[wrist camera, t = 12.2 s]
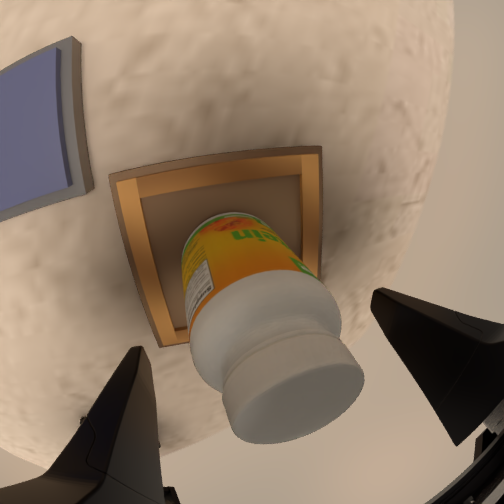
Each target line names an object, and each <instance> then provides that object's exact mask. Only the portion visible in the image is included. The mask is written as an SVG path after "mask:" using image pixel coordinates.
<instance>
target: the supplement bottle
mask: <svg viewBox="0 0 504 504" xmlns="http://www.w3.org/2000/svg"><path fill="white" fill-rule="evenodd" d="M181 262H182V264H181V268H182V281H183V292H184V301H185V310H186V318H187V326H188V334H189V342H190V349H191V354H192V358H193V362H194V365H195V367H196V369H197V371H198V373H199V374H200V376H201V377H202V378H203V380H204V381H205V382H206V383H207V384H208V385H210V386H211V387H212V388H214V389H216V390H217V391H219V392H221V393H223V395H222V400H223V404H224V406H225V409H226V413H227V416H228V419H229V422H230V425H231V428H232V430H233V432H234V433H235V435H236V436H237V437H238V438H240V439H242V440H244V441H246V442H249V443H254V444H275V443H282V442H287V441H291V440H294V439H297V438H300V437H303V436H306V435H308V434H311V433H313V432H315V431H317V430H319V429H321V428H322V427H324V426H326V425H327V424H329V423H330V422H332V421H333V420H335V419H336V418H338V417H339V416H340V415H341V414H342V413H344V412H345V411H346V410H347V409H348V408H349V407H350V405H352V404H353V402H354V401H355V400H356V398H357V397H358V396H359V394H360V392H361V390H362V387H363V385H364V373H363V370H362V369H361V367H360V365H359V364H358V363H357V361H356V360H355V358H354V357H353V356H352V354H351V353H350V351H349V350H348V348H347V347H346V346H345V344H343V343H342V341H341V340H340V339H339V337H340V333H341V314H340V310H339V307H338V305H337V303H336V301H335V299H334V297H333V296H332V295H331V293H330V292H329V291H328V290H327V288H326V287H325V286H324V285H323V284H322V283H321V281H320V280H319V279H318V278H317V277H316V276H315V275H314V274H313V273H312V272H311V271H310V270H309V269H308V268H307V266H306V265H305V264H304V263H303V262H302V261H301V260H300V259H299V258H298V257H297V256H296V255H295V254H294V252H293V251H292V250H291V249H290V248H289V247H288V246H287V245H286V244H285V243H284V241H283V240H282V239H281V238H280V237H279V236H278V235H277V234H276V233H275V232H274V231H273V230H272V229H271V228H270V227H269V226H268V225H267V224H266V223H265V222H263V221H262V220H260V219H259V218H257V217H255V216H253V215H250V214H246V213H239V212H229V213H223V214H219V215H216V216H214V217H211V218H209V219H207V220H206V221H204V222H203V223H202V224H200V225H199V226H198V227H197V228H196V229H195V230H194V231H193V233H192V234H191V235H190V237H189V238H188V240H187V242H186V244H185V246H184V249H183V253H182V261H181Z"/></svg>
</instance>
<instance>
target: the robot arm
mask: <svg viewBox="0 0 504 504" xmlns="http://www.w3.org/2000/svg"><path fill="white" fill-rule="evenodd" d="M370 308H371V312H372V313H373V315H374V317H375V319H376V320H377V322H378V324H379V326H380V327H381V329H382V330H383V333H384V334H385V336H386V338H387V339H388V341H389V342H390V344H391V345H392V347H393V348H394V350H395V351H396V352H397V354H398V355H399V357H400V358H401V360H402V361H403V363H404V364H405V366H406V367H407V369H408V370H409V372H410V373H411V374H412V376H413V378H414V379H415V381H416V382H417V384H418V385H419V387H420V388H421V390H422V391H423V393H424V394H425V396H426V398H427V399H428V401H429V402H430V404H431V406H432V407H433V409H434V411H435V412H436V414H437V416H438V417H439V419H440V421H441V422H442V424H443V426H444V427H445V429H446V431H447V432H448V434H449V436H450V438H451V439H452V441H453V443H454V444H455V446H458V445H459V444H460V443H462V441H464V440H465V439H466V438H467V437H468V436H469V435H470V434H471V433H472V432H473V431H474V430H475V429H476V428H477V427H478V426H479V425H480V424H481V423H482V422H483V423H484V425H485V426H486V427H487V428H486V429H485V430H484V431H483V432H482V433H481V434H480V435H479V436H478V437H477V438H476V442H475V453H474V461H473V463H472V464H471V465H470V466H469V467H468V468H467V469H466V470H465V471H464V472H463V473H462V474H461V475H460V476H458V477H457V478H456V479H455V480H454V481H453V482H452V483H450V484H449V485H448V486H447V487H446V488H444V489H443V490H442V491H441V492H440V493H438V494H437V495H436V496H434V497H433V498H432V499H430V500H429V501H428V502H426V503H425V504H504V324H500V323H496V322H492V321H488V320H484V319H480V318H476V317H473V316H469V315H466V314H463V313H460V312H457V311H453V310H450V309H448V308H445V307H442V306H438V305H435V304H432V303H429V302H426V301H423V300H420V299H417V298H414V297H411V296H408V295H405V294H402V293H399V292H396V291H393V290H390V289H387V288H383V287H382V288H378V289H375V290H374V292H373V295H372V300H371V305H370ZM80 424H81V425H80V427H79V428H78V430H77V431H76V433H75V435H74V436H73V437H72V439H71V440H70V442H69V443H68V444H67V446H66V447H65V448H64V450H63V451H62V452H61V454H60V455H59V456H58V458H57V459H56V460H55V462H54V463H53V464H52V466H51V467H50V468H49V469H48V470H47V471H46V472H45V473H44V474H43V475H41V476H39V477H37V478H34V479H31V480H28V481H25V482H22V483H18V484H15V485H11V486H7V487H4V488H0V504H180V501H179V499H178V497H177V494H176V491H175V488H174V487H169V486H168V487H163V484H162V476H161V467H160V456H159V448H160V447H161V446H160V442H159V441H158V429H157V408H156V398H155V391H154V384H153V377H152V369H151V364H150V361H149V359H148V356H147V354H146V352H145V350H144V348H143V347H142V346H135V347H131V348H130V349H129V351H128V352H127V354H126V355H125V357H124V358H123V360H122V361H121V363H120V364H119V366H118V367H117V369H116V370H115V372H114V373H113V375H112V376H111V378H110V379H109V381H108V382H107V384H106V386H105V387H104V389H103V390H102V392H101V393H100V395H99V396H98V398H97V400H96V401H95V403H94V404H93V406H92V408H91V409H90V411H89V412H88V414H87V417H85V418H82V419H80Z"/></svg>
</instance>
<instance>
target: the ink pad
mask: <svg viewBox="0 0 504 504" xmlns="http://www.w3.org/2000/svg"><path fill="white" fill-rule="evenodd" d="M93 189H94V184H93V179H92V174H91V168H90V162H89V156H88V149H87V142H86V135H85V126H84V116H83V105H82V89H81V43H80V42H79V41H78V40H77V39H75V38H74V37H73V36H71V37H68V38H66V39H63V40H61V41H58V42H56V43H53V44H51V45H49V46H46V47H44V48H42V49H40V50H38V51H36V52H34V53H32V54H30V55H28V56H26V57H24V58H22V59H20V60H18V61H16V62H15V63H13V64H11V65H9V66H8V67H6V68H4V69H3V70H1V71H0V222H2V221H5V220H7V219H10V218H13V217H15V216H18V215H21V214H24V213H27V212H30V211H32V210H35V209H38V208H41V207H45V206H48V205H51V204H54V203H57V202H61V201H64V200H67V199H71V198H74V197H78V196H81V195H85V194H87V193H88V192H90V191H91V190H93Z"/></svg>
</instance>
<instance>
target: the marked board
mask: <svg viewBox="0 0 504 504" xmlns="http://www.w3.org/2000/svg"><path fill="white" fill-rule="evenodd" d="M108 176H109V181H110V187H111V192H112V196H113V201H114V206H115V210H116V215H117V219H118V223H119V227H120V231H121V235H122V239H123V242H124V246H125V250H126V253H127V257H128V260H129V264H130V267H131V270H132V274H133V277H134V280H135V283H136V286H137V289H138V292H139V295H140V298H141V301H142V304H143V307H144V310H145V312H146V315H147V318H148V320H149V323H150V326H151V328H152V331H153V333H154V336H155V339H156V341H157V343H158V346H159V348H162V347H168V346H173V345H179V344H185V343H190V342H189V334H188V326H187V318H186V310H185V301H184V292H183V281H182V268H181V264H182V262H181V261H182V253H183V249H184V246H185V244H186V242H187V240H188V238H189V237H190V235H191V234H192V233H193V231H194V230H195V229H196V228H197V227H198V226H199V225H200V224H202V223H203V222H204V221H206V220H207V219H209V218H211V217H214V216H216V215H219V214H223V213H229V212H239V213H246V214H250V215H253V216H255V217H257V218H259V219H260V220H262V221H263V222H265V223H266V224H267V225H268V226H269V227H270V228H271V229H272V230H273V231H274V232H275V233H276V234H277V235H278V236H279V237H280V238H281V239H282V240H283V241H284V243H285V244H286V245H287V246H288V247H289V248H290V249H291V250H292V251H293V252H294V254H295V255H296V256H297V257H298V258H299V259H300V260H301V261H302V262H303V263H304V264H305V265H306V266H307V268H308V269H309V270H310V271H311V272H312V273H313V274H314V275H315V276H316V277H317V278H318V279H319V280H320V275H321V254H322V219H323V170H322V146H298V147H281V148H268V149H256V150H246V151H237V152H228V153H220V154H213V155H206V156H199V157H192V158H186V159H180V160H174V161H169V162H163V163H158V164H153V165H148V166H143V167H139V168H134V169H129V170H125V171H121V172H117V173H113V174H110V175H108Z"/></svg>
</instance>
